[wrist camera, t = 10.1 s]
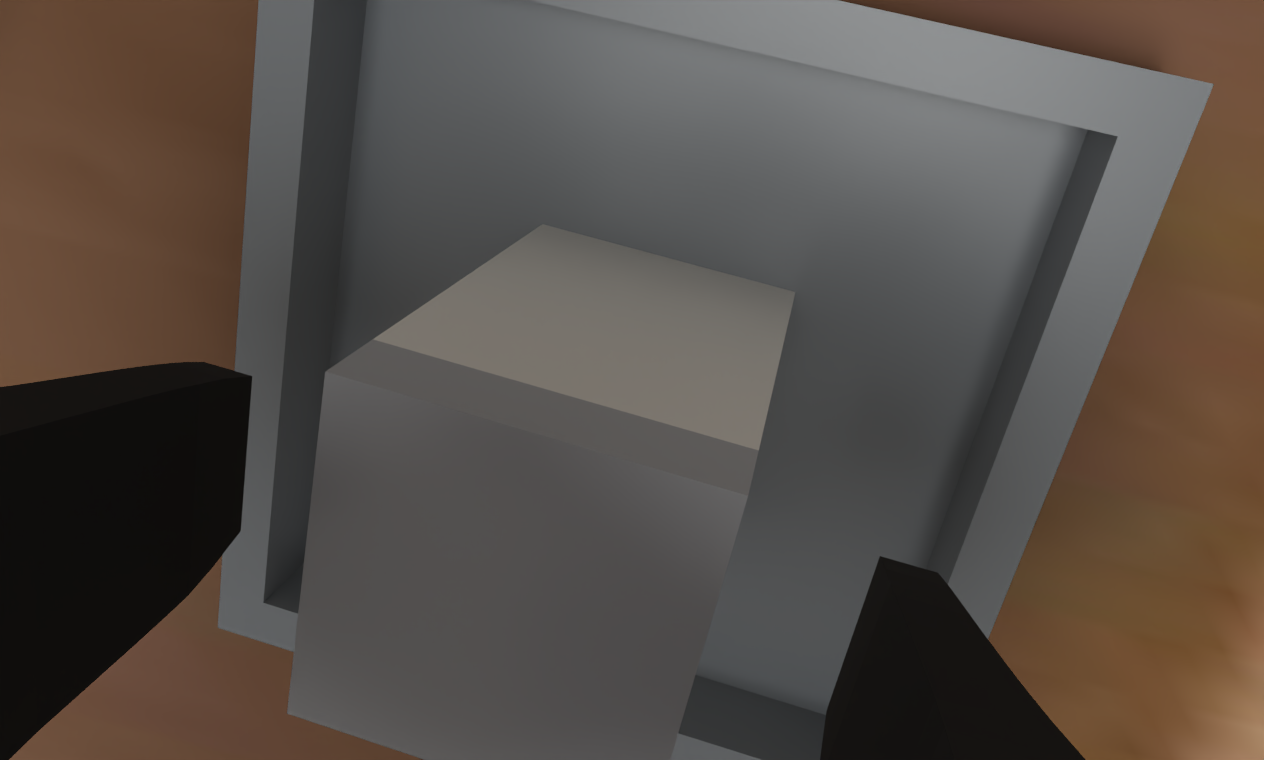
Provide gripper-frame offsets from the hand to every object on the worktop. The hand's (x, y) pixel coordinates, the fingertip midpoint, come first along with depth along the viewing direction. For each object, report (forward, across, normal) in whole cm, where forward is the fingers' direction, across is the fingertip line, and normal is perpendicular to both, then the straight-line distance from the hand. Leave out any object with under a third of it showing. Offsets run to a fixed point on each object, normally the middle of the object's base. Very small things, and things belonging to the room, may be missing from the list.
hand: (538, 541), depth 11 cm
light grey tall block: (+6, 0, 0) cm, 6 cm away
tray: (+6, 0, 0) cm, 6 cm away
